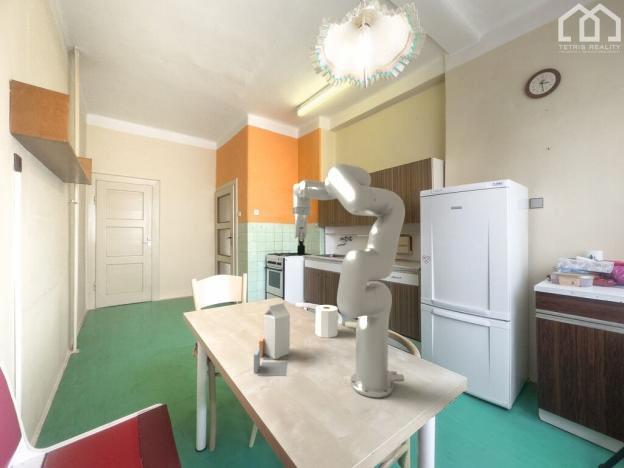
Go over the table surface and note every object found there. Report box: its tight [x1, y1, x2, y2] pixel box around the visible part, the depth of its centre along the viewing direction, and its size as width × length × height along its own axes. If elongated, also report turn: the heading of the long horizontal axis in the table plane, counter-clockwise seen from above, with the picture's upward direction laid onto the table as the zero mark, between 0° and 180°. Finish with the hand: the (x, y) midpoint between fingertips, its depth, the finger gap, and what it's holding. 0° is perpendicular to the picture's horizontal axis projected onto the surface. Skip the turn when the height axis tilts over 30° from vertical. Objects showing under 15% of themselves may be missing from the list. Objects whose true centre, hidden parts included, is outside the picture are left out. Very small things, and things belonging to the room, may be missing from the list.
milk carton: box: [263, 302, 291, 359], centre depth 101 cm, size 7×7×19 cm
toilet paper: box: [315, 304, 339, 339], centre depth 122 cm, size 10×10×12 cm
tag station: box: [253, 335, 289, 377], centre depth 95 cm, size 11×20×6 cm, turn 2°
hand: (301, 254), depth 113 cm, fingers closed
